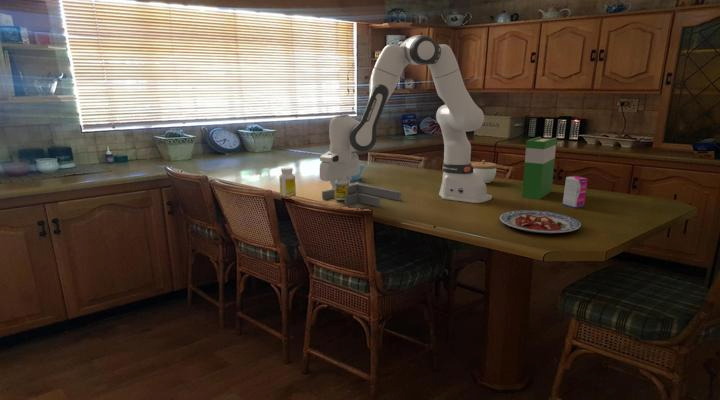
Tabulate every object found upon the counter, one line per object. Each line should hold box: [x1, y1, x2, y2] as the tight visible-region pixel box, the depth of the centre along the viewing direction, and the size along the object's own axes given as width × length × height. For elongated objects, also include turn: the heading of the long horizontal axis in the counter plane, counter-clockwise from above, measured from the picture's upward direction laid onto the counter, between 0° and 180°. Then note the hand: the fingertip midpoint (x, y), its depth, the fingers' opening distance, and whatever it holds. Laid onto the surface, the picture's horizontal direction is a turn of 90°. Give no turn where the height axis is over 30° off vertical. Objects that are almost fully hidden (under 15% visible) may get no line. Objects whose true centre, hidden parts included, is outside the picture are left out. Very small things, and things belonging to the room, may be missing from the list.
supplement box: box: [562, 175, 589, 209], centre depth 185 cm, size 6×6×12 cm
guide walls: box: [321, 183, 402, 208], centre depth 197 cm, size 25×21×4 cm
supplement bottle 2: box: [334, 176, 348, 201], centre depth 195 cm, size 5×5×10 cm
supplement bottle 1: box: [278, 167, 297, 197], centre depth 200 cm, size 7×7×13 cm
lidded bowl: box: [470, 159, 498, 184], centre depth 229 cm, size 13×13×11 cm
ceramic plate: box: [499, 209, 582, 234], centre depth 161 cm, size 26×26×3 cm
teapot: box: [345, 164, 366, 183], centre depth 238 cm, size 15×15×11 cm
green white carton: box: [521, 136, 557, 200], centre depth 203 cm, size 18×7×24 cm, turn 144°
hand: (340, 188), depth 195 cm, fingers closed on supplement bottle 2, 5 cm apart
